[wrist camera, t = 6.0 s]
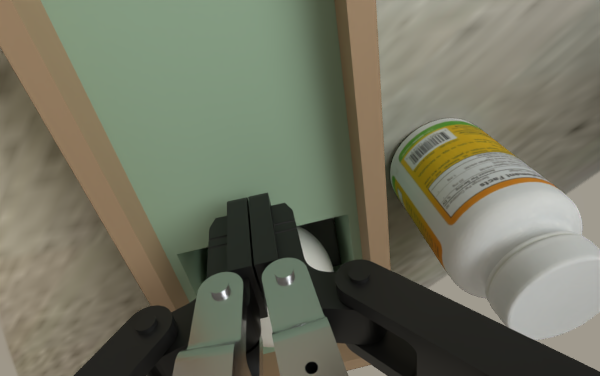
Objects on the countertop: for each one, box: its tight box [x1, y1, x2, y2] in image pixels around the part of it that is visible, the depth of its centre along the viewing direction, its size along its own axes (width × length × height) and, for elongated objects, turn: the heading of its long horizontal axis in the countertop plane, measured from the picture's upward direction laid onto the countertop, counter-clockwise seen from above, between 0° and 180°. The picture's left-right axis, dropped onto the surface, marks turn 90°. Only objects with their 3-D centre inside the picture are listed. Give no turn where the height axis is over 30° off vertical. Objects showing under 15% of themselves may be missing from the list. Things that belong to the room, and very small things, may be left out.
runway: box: [0, 0, 391, 376], centre depth 16 cm, size 10×22×6 cm, turn 10°
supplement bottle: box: [390, 118, 600, 340], centre depth 17 cm, size 5×5×10 cm
